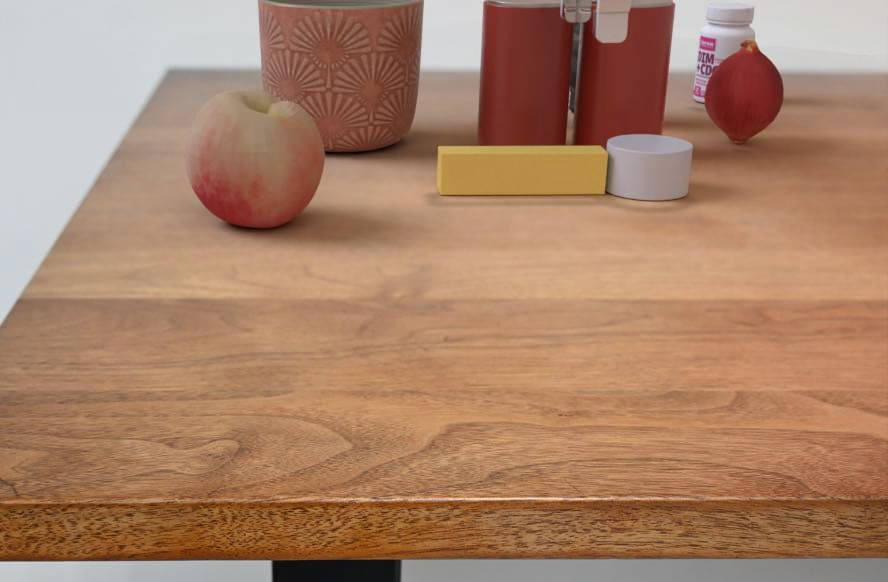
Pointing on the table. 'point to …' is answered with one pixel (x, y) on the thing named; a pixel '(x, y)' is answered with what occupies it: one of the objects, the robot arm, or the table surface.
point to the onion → (744, 93)
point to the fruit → (254, 158)
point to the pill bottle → (720, 39)
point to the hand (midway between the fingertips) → (591, 30)
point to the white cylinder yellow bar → (570, 169)
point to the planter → (345, 66)
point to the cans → (549, 71)
